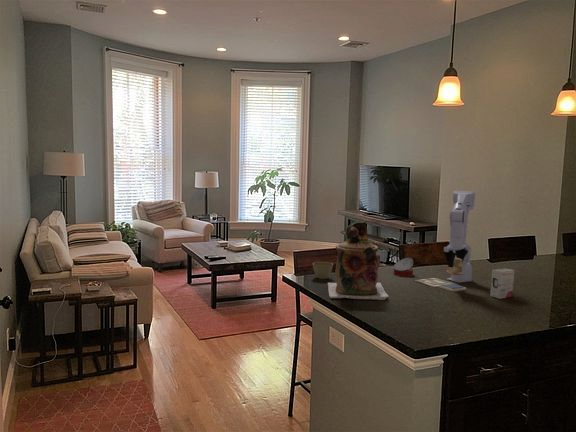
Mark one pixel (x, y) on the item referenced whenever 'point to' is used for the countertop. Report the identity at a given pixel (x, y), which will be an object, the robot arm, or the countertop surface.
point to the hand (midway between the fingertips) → (454, 266)
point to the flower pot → (322, 269)
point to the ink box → (502, 283)
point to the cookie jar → (357, 267)
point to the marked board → (433, 282)
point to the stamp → (456, 267)
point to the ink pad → (452, 287)
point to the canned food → (403, 267)
